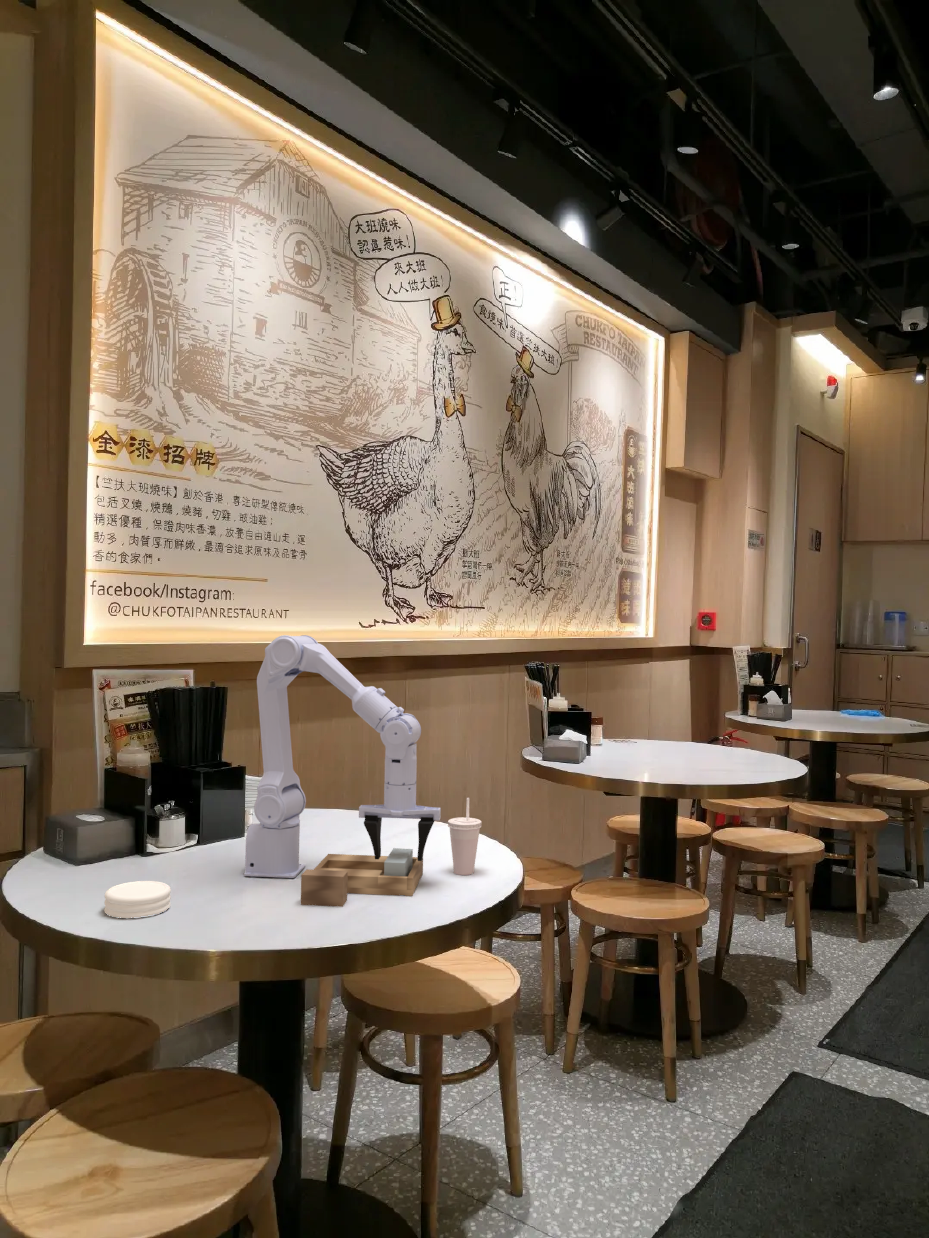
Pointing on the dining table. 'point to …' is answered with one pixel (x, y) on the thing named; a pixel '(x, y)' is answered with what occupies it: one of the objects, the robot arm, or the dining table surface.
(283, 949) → the dining table surface
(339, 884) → the brown wooden block
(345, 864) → the jig
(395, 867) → the grey square post
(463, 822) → the smoothie
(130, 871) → the dining table surface
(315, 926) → the dining table surface
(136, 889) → the coaster
